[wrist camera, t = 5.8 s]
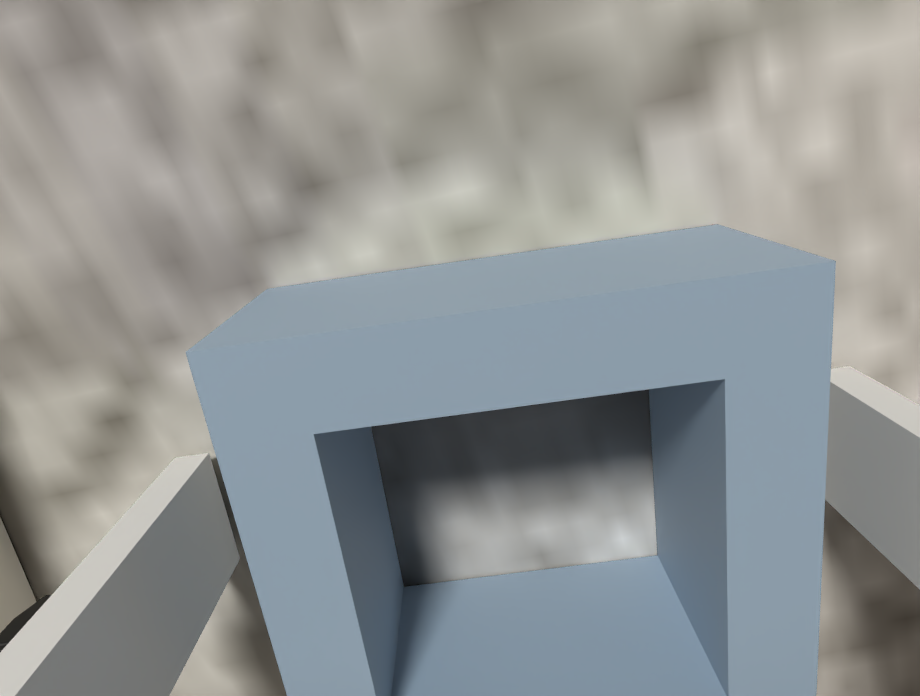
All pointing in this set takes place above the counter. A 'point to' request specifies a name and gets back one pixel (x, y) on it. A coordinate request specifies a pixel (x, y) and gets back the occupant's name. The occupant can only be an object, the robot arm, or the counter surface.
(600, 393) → the collar
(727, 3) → the counter surface
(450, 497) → the counter surface
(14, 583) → the cream rectangular open frame
